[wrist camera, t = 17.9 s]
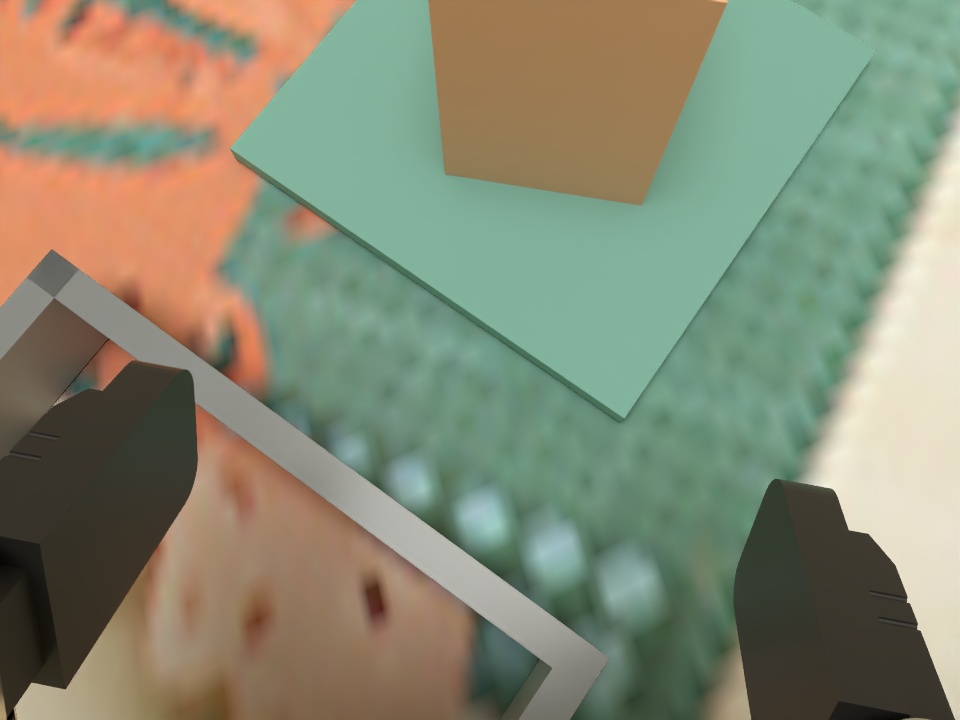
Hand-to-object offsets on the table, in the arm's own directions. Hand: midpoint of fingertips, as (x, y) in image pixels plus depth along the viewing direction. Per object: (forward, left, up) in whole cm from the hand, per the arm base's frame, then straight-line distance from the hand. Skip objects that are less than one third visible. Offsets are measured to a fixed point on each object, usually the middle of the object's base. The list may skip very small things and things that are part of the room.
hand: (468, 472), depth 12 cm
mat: (-4, +10, -9) cm, 14 cm away
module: (-4, +10, -8) cm, 14 cm away
